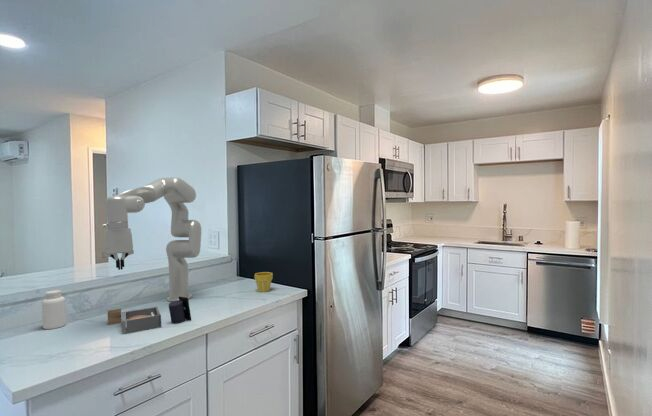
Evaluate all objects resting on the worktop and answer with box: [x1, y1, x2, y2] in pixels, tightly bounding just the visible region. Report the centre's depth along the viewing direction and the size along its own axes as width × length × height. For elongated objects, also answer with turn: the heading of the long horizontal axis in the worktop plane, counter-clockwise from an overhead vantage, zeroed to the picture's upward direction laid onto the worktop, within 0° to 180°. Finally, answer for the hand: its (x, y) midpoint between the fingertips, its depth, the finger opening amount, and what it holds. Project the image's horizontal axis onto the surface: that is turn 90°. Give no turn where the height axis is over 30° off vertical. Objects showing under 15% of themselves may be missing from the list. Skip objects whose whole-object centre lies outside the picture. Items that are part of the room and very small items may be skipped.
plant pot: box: [254, 271, 274, 293], centre depth 204 cm, size 10×10×10 cm
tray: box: [121, 311, 155, 334], centre depth 149 cm, size 13×14×5 cm
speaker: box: [168, 297, 192, 324], centre depth 153 cm, size 8×6×10 cm
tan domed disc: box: [128, 315, 149, 320], centre depth 149 cm, size 8×8×2 cm
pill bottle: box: [41, 289, 67, 330], centre depth 151 cm, size 8×8×15 cm
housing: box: [125, 306, 162, 334], centre depth 149 cm, size 12×15×5 cm
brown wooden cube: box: [107, 308, 122, 326], centre depth 155 cm, size 5×5×5 cm
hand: (120, 269), depth 150 cm, fingers closed
